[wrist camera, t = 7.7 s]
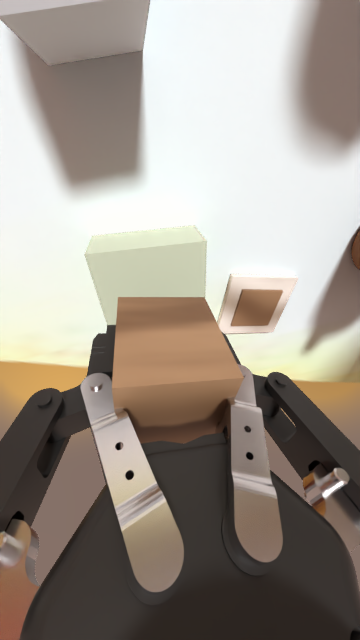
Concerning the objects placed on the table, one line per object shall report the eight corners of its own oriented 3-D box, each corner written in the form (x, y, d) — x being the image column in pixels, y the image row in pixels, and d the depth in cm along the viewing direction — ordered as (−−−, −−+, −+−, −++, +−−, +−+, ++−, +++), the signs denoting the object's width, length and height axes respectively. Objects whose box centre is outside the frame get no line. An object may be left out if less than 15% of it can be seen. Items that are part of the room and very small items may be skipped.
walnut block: (117, 296, 12) (111, 388, 8) (204, 297, 14) (244, 377, 9) (121, 359, 15) (118, 452, 11) (192, 355, 16) (217, 438, 12)
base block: (92, 234, 17) (84, 254, 14) (193, 224, 18) (206, 240, 15) (115, 316, 22) (113, 344, 19) (194, 305, 23) (204, 330, 20)
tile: (230, 273, 21) (234, 278, 21) (294, 275, 23) (300, 279, 22) (215, 330, 26) (217, 335, 25) (270, 328, 27) (274, 333, 26)
